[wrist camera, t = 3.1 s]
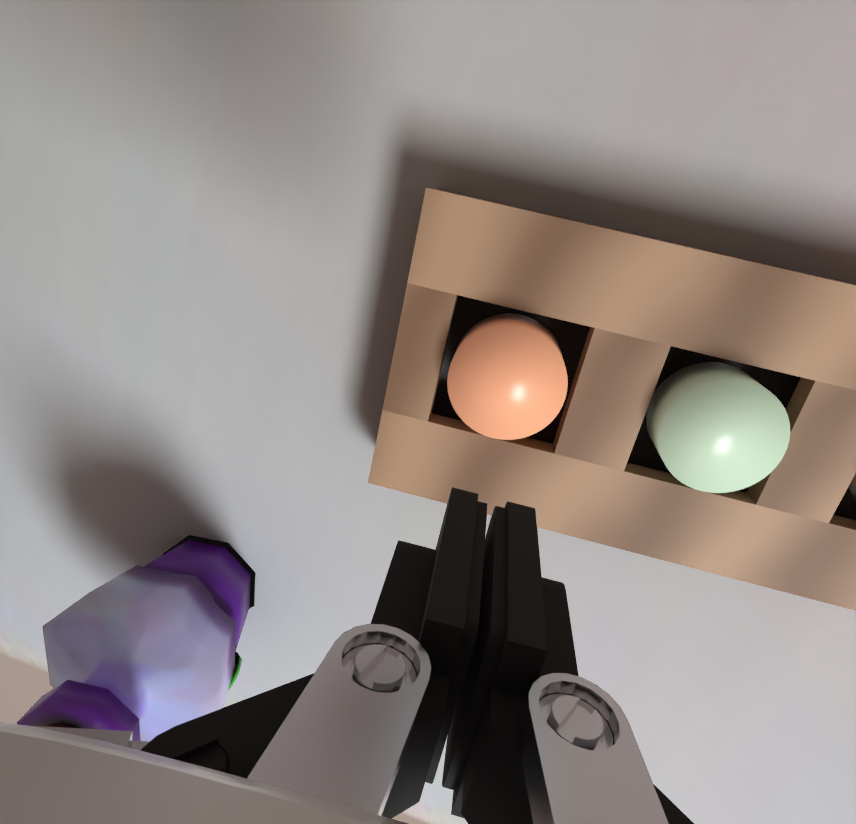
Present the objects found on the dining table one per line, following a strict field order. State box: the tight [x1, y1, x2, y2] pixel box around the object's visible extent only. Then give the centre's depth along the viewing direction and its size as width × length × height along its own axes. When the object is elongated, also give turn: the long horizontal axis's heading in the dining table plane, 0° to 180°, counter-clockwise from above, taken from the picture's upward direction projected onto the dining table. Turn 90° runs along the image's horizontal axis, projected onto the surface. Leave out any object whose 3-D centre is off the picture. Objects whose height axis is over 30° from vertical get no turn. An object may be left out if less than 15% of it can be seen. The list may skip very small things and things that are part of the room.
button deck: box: [368, 188, 856, 610], centre depth 23 cm, size 25×12×3 cm, turn 78°
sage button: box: [646, 362, 790, 493], centre depth 22 cm, size 4×4×2 cm
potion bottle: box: [17, 535, 255, 742], centre depth 26 cm, size 9×9×12 cm
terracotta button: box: [447, 313, 568, 440], centre depth 23 cm, size 4×4×2 cm
